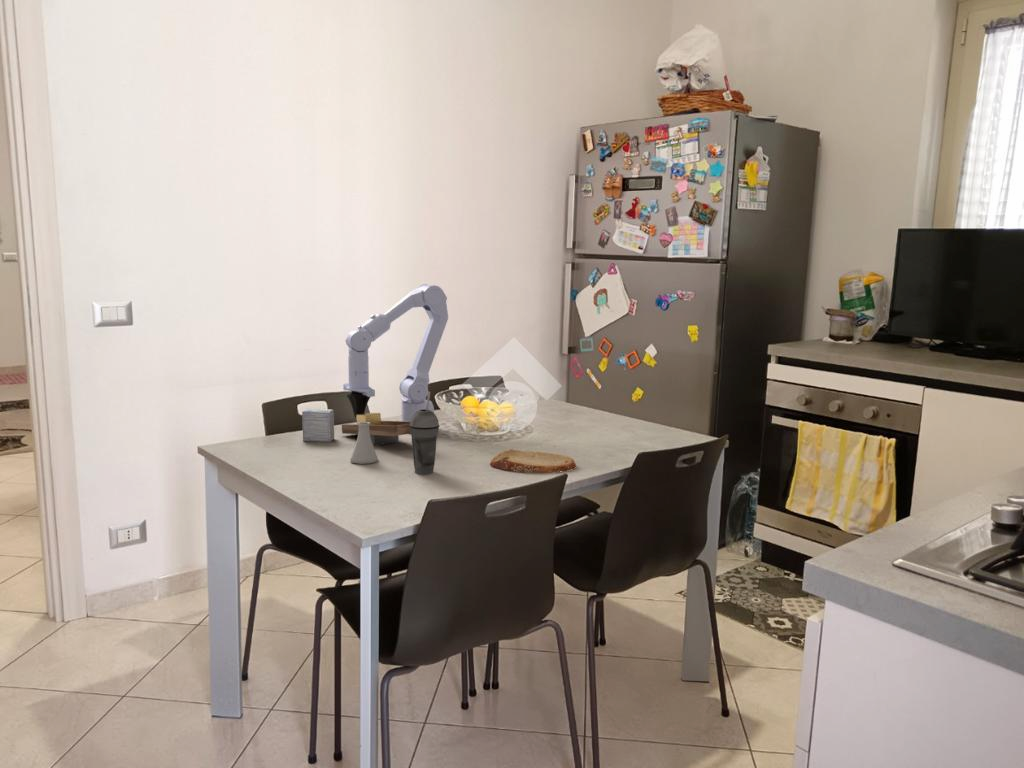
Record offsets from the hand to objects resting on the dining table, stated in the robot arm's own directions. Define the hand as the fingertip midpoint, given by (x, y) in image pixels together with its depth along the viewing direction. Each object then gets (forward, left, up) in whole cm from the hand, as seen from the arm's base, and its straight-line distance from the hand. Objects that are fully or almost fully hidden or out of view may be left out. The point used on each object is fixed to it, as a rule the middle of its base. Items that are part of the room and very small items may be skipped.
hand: (359, 417), depth 235 cm
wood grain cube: (0, +6, -2) cm, 6 cm away
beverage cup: (+9, +46, -5) cm, 47 cm away
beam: (0, +14, -2) cm, 14 cm away
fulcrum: (0, +14, -5) cm, 15 cm away
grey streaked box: (+13, 0, -5) cm, 14 cm away
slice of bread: (-16, +57, -6) cm, 60 cm away
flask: (+15, +28, -5) cm, 32 cm away
